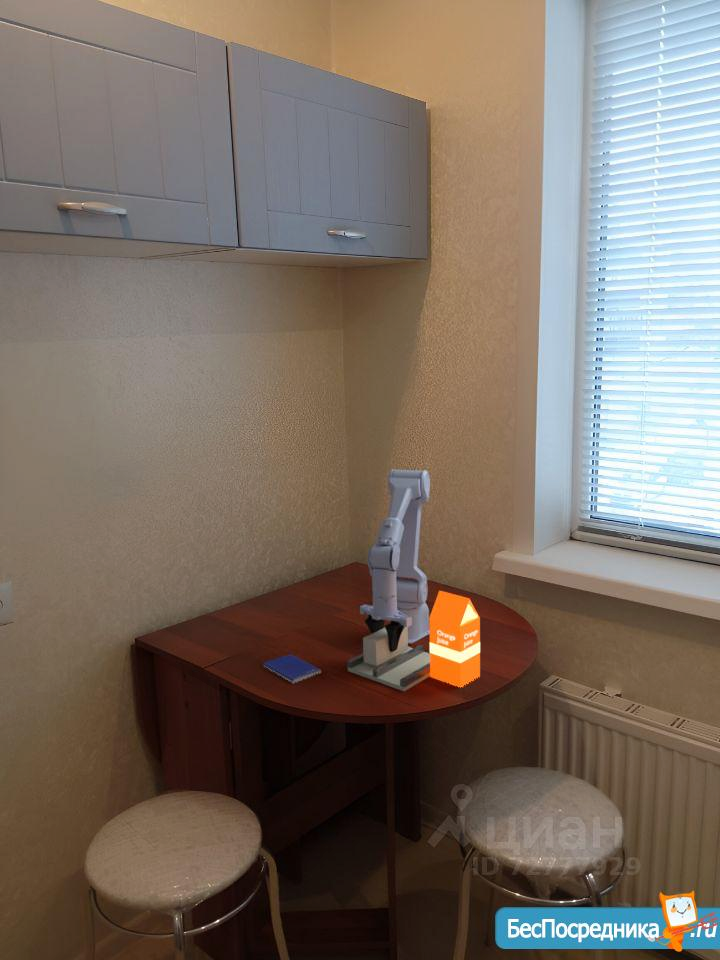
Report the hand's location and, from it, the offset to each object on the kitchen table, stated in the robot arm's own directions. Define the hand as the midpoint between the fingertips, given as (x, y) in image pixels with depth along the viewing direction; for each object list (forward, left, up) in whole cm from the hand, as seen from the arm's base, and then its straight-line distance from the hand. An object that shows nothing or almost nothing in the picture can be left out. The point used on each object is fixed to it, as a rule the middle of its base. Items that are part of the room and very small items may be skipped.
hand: (386, 647), depth 183 cm
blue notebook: (+17, -16, -5) cm, 23 cm away
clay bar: (0, 0, -2) cm, 2 cm away
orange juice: (-4, +17, -4) cm, 18 cm away
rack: (0, +4, -4) cm, 6 cm away
